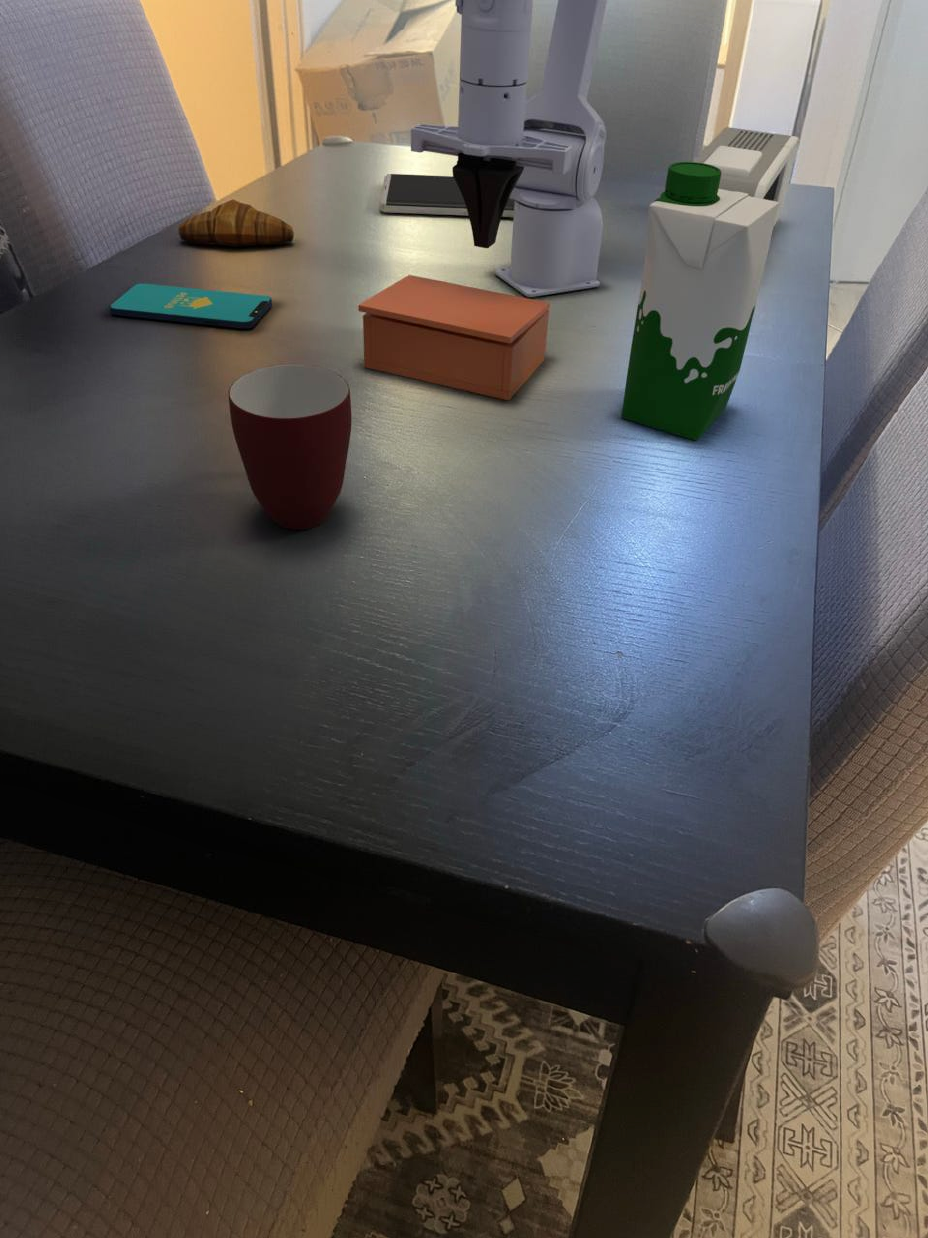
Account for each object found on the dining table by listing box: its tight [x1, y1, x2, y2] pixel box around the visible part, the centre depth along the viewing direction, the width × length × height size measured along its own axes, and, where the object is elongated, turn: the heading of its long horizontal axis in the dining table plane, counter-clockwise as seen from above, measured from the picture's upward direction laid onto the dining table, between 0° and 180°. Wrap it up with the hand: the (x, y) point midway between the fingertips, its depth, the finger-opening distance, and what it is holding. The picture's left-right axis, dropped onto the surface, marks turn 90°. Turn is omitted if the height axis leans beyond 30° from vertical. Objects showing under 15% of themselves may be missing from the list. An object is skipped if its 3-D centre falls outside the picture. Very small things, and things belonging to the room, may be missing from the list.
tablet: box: [378, 173, 515, 218], centre depth 129 cm, size 13×27×2 cm, turn 90°
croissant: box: [177, 199, 295, 247], centre depth 112 cm, size 14×7×5 cm, turn 94°
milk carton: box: [620, 161, 779, 442], centre depth 78 cm, size 9×9×20 cm
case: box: [362, 309, 550, 401], centre depth 89 cm, size 10×15×5 cm, turn 67°
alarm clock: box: [692, 126, 800, 227], centre depth 116 cm, size 27×9×12 cm, turn 157°
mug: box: [228, 363, 352, 531], centre depth 68 cm, size 11×8×10 cm
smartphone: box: [109, 283, 273, 329], centre depth 97 cm, size 7×1×15 cm
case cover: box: [357, 274, 551, 344], centre depth 87 cm, size 10×15×1 cm
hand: (484, 244), depth 89 cm, fingers closed
